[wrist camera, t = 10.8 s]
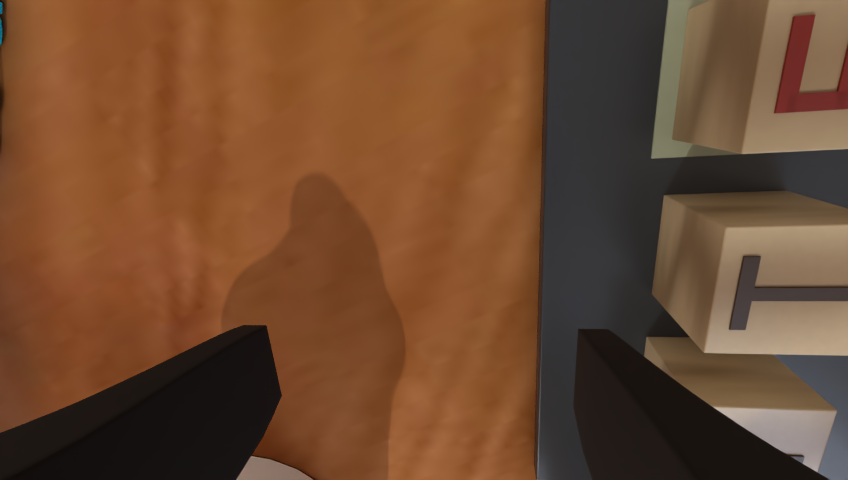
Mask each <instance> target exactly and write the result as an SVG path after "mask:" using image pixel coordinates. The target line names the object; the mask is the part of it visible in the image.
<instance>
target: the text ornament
mask: <svg viewBox="0 0 848 480" xmlns="http://www.w3.org/2000/svg"><path fill="white" fill-rule="evenodd" d="M0 14H2V2H0ZM1 42H2V23H1V18H0V45H1Z"/></svg>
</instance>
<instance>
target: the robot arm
mask: <svg viewBox="0 0 848 480" xmlns="http://www.w3.org/2000/svg"><path fill="white" fill-rule="evenodd" d="M281 396H282V395H281V390H280V386H279V381H278V376H277V372H276V367H275V363H274V358H273V354H272V349H271V344H270V340H269V335H268V331H267V326H266V325H243V326H240V327H237V328H234V329H232V330H229V331H227V332H225V333H222V334H220V335H218V336H216V337H214V338H212V339H209V340H207V341H205V342H203V343H201V344H199V345H197V346H195V347H193V348H191V349H189V350H187V351H185V352H183V353H181V354H179V355H177V356H175V357H173V358H171V359H169V360H167V361H165V362H163V363H160V364H158V365H156V366H154V367H152V368H150V369H148V370H146V371H144V372H142V373H140V374H138V375H135V376H133V377H131V378H129V379H127V380H125V381H123V382H120V383H118V384H116V385H114V386H112V387H110V388H108V389H105V390H103V391H101V392H99V393H97V394H95V395H93V396H90V397H88V398H86V399H83V400H81V401H79V402H77V403H74V404H72V405H69V406H67V407H65V408H62V409H60V410H58V411H55V412H53V413H50V414H48V415H45V416H43V417H40V418H38V419H35V420H33V421H30V422H28V423H25V424H22V425H20V426H17V427H15V428H12V429H9V430H7V431H4V432H1V433H0V480H236V479H237V478H238V476H239V475H240V473H241V471H242V470H243V468H244V467H245V465H246V463H247V462H248V460H249V459H250V457H251V455H252V454H253V452H254V450H255V449H256V447H257V446H258V444H259V442H260V441H261V439H262V437H263V436H264V433H265V431H266V429H267V427H268V425H269V423H270V421H271V419H272V417H273V415H274V412H275V410H276V408H277V405H278V403H279V401H280V398H281ZM573 408H574V413H575V418H576V422H577V427H578V432H579V436H580V441H581V445H582V450H583V453H584V457H585V460H586V463H587V466H588V469H589V471H590V474H591V477H592V480H830V479H828V478H826V477H824V476H823V475H821V474H819V473H818V472H816V471H814V470H813V469H811V468H809V467H808V466H806V465H804V464H802V463H801V462H799V461H797V460H796V459H794V458H792V457H791V456H789V455H787V454H786V453H784V452H782V451H780V450H779V449H777V448H775V447H774V446H772V445H770V444H769V443H767V442H766V441H764V440H762V439H761V438H759V437H758V436H756V435H754V434H753V433H751V432H750V431H748V430H747V429H745V428H744V427H742V426H741V425H739V424H738V423H736V422H735V421H733V420H732V419H730V418H729V417H727V416H726V415H724V414H723V413H721V412H720V411H718V410H717V409H715V408H714V407H712V406H711V405H709V404H708V403H706V402H705V401H704V400H702V399H701V398H699V397H698V396H697V395H695V394H694V393H692V392H691V391H689V390H688V389H687V388H685V387H684V386H683V385H681V384H680V383H679V382H677V381H676V380H674V379H673V378H672V377H670V376H669V375H668V374H666V373H665V372H664V371H662V370H661V369H660V368H659V367H657V366H656V365H655V364H653V363H652V362H651V361H649V360H648V359H647V358H646V357H644V356H643V355H642V354H640V353H639V352H638V351H637V350H635V349H634V348H633V347H631V346H630V345H629V344H628V343H626V342H625V341H624V340H622V339H621V338H620V337H618V336H617V335H616V334H614V333H613V332H612V331H610V330H609V329H578V336H577V353H576V369H575V385H574V402H573Z"/></svg>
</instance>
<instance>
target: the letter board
mask: <svg viewBox="0 0 848 480" xmlns="http://www.w3.org/2000/svg"><path fill="white" fill-rule="evenodd" d="M707 1H709V0H546V7H545V48H544V88H543V128H542V169H541V209H540V249H539V290H538V330H537V370H536V411H535V451H534V467H535V473H536V478H537V480H592V477H591V474H590V471H589V469H588V466H587V463H586V460H585V457H584V453H583V450H582V445H581V441H580V436H579V432H578V427H577V422H576V418H575V413H574V408H573V402H574V385H575V369H576V353H577V336H578V329H609V330H610V331H612V332H613V333H614V334H616V335H617V336H618V337H620V338H621V339H622V340H624V341H625V342H626V343H628V344H629V345H630V346H631V347H633V348H634V349H635V350H637V351H638V352H639V353H640V354H642V355H643V356H644V357H646V358H647V359H648V360H649V361H651V362H652V363H653V364H655V365H656V366H657V367H659V368H660V369H661V370H662V371H664V372H665V373H666V374H668V375H669V376H670V377H672V378H673V379H674V380H676V381H677V382H679V383H680V384H681V385H683V386H684V387H685V388H687V389H688V390H689V391H691V392H692V393H694V394H695V395H697V396H698V397H699V398H701V399H702V400H704V401H705V402H706V403H708V404H709V405H711V406H712V407H714V408H715V409H717V410H718V411H720V412H721V413H723V414H724V415H726V416H727V417H729V418H730V419H732V420H733V421H735V422H736V423H738V424H739V425H741V426H742V427H744V428H745V429H747V430H748V431H750V432H751V433H753V434H754V435H756V436H758V437H759V438H761V439H762V440H764V441H766V442H767V443H769V444H770V445H772V446H774V447H775V448H777V449H779V450H780V451H782V452H784V453H786V454H787V455H789V456H791V457H792V458H794V459H796V460H797V461H799V462H801V463H802V464H804V465H806V466H808V467H809V468H811V469H813V470H814V471H816V472H818V473H819V474H821V475H823V476H824V477H826V478H828V479H830V480H848V149H838V150H817V151H796V152H775V153H754V154H740V153H735V152H730V151H725V150H720V149H715V148H710V147H705V146H701V145H696V144H691V143H686V142H681V141H676V140H672V135H673V127H674V119H675V111H676V103H677V95H678V87H679V79H680V71H681V63H682V55H683V47H684V39H685V31H686V23H687V15H688V10H689V9H691V8H693V7H695V6H698V5H700V4H702V3H704V2H707Z"/></svg>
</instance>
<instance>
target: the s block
mask: <svg viewBox="0 0 848 480" xmlns="http://www.w3.org/2000/svg"><path fill="white" fill-rule="evenodd" d="M672 140H676V141H681V142H686V143H691V144H696V145H701V146H705V147H710V148H715V149H720V150H725V151H730V152H735V153H740V154H754V153H775V152H796V151H817V150H838V149H848V0H709V1H707V2H704V3H702V4H700V5H698V6H695V7H693V8H691V9H689V10H688V15H687V23H686V31H685V39H684V47H683V55H682V63H681V71H680V79H679V87H678V95H677V103H676V111H675V119H674V127H673V135H672Z"/></svg>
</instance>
